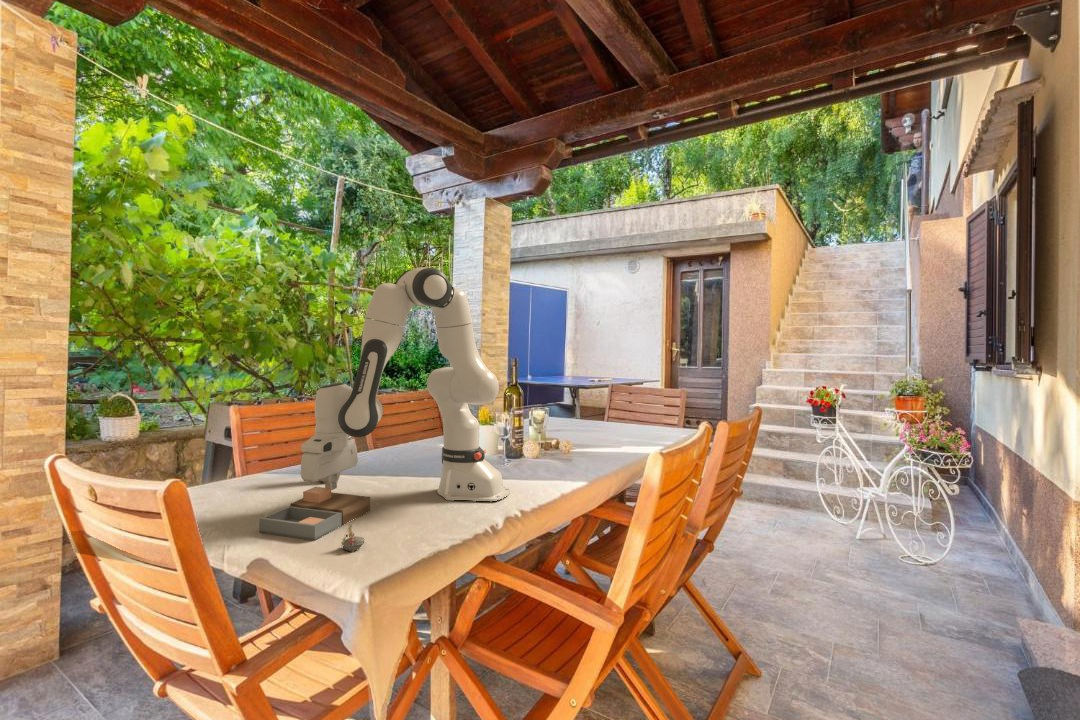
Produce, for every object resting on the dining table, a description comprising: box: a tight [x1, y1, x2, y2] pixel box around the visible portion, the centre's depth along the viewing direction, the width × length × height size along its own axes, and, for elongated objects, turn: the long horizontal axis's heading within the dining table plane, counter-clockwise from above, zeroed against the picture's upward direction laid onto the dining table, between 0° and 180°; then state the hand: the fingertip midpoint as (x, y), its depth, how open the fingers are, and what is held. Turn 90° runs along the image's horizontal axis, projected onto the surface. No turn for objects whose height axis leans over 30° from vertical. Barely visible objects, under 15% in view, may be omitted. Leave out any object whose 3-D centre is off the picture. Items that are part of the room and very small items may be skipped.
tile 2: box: [299, 517, 325, 524], centre depth 130 cm, size 5×5×2 cm
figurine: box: [341, 523, 365, 552], centre depth 121 cm, size 5×4×6 cm
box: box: [258, 505, 343, 541], centre depth 132 cm, size 16×10×4 cm, turn 74°
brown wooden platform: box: [289, 491, 371, 526], centre depth 143 cm, size 16×12×4 cm
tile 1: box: [302, 486, 332, 503], centre depth 144 cm, size 5×5×2 cm
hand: (331, 489), depth 150 cm, fingers closed
